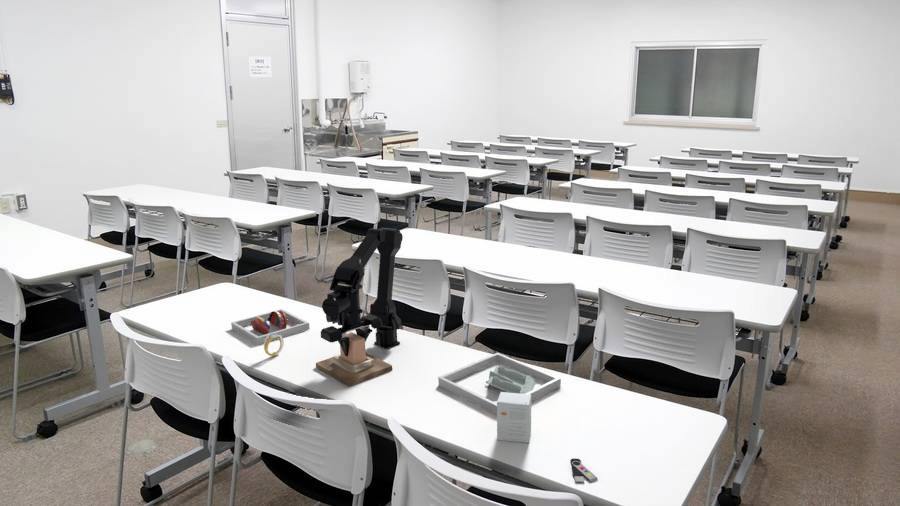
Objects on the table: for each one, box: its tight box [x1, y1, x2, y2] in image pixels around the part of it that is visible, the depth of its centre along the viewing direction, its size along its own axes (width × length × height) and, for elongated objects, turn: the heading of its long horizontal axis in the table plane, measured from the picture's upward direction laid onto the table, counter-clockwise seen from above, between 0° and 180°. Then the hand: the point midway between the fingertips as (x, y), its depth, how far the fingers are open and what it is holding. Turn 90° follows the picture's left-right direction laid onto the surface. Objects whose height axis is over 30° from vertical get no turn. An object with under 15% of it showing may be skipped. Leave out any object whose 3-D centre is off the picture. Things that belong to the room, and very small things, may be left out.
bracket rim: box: [437, 352, 562, 415], centre depth 187 cm, size 25×25×2 cm
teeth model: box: [250, 310, 288, 335], centre depth 231 cm, size 8×6×12 cm
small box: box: [496, 391, 532, 444], centre depth 160 cm, size 8×6×10 cm
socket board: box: [315, 352, 393, 387], centre depth 199 cm, size 16×18×4 cm
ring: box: [263, 331, 285, 357], centre depth 208 cm, size 7×3×8 cm, turn 137°
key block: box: [339, 331, 367, 365], centre depth 198 cm, size 7×4×8 cm, turn 43°
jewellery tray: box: [230, 308, 310, 346], centre depth 231 cm, size 20×20×2 cm
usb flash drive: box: [569, 458, 599, 483], centre depth 146 cm, size 9×5×1 cm, turn 176°
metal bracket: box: [485, 364, 538, 394], centre depth 185 cm, size 14×6×15 cm
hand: (353, 353), depth 198 cm, fingers closed on key block, 4 cm apart
